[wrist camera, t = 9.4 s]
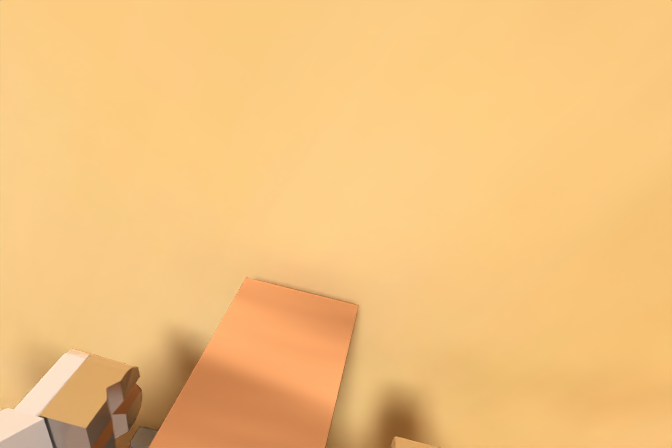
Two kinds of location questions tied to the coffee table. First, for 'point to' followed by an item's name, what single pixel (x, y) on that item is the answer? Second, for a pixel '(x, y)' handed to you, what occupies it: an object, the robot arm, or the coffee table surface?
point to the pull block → (265, 374)
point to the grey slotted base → (143, 438)
